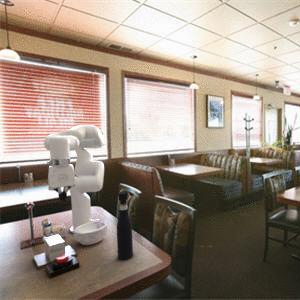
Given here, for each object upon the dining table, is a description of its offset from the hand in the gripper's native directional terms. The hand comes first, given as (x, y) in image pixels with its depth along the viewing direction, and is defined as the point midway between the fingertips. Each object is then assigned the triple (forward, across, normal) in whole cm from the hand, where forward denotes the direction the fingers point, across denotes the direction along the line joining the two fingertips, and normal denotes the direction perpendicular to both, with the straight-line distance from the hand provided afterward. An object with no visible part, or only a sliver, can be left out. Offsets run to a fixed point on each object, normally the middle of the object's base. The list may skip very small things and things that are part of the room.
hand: (63, 200), depth 111 cm
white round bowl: (+25, +12, +2) cm, 28 cm away
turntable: (+25, -5, -4) cm, 26 cm away
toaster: (+23, -5, -4) cm, 24 cm away
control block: (+25, -5, -17) cm, 31 cm away
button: (+21, -5, -17) cm, 28 cm away
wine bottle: (+25, +17, -27) cm, 41 cm away
